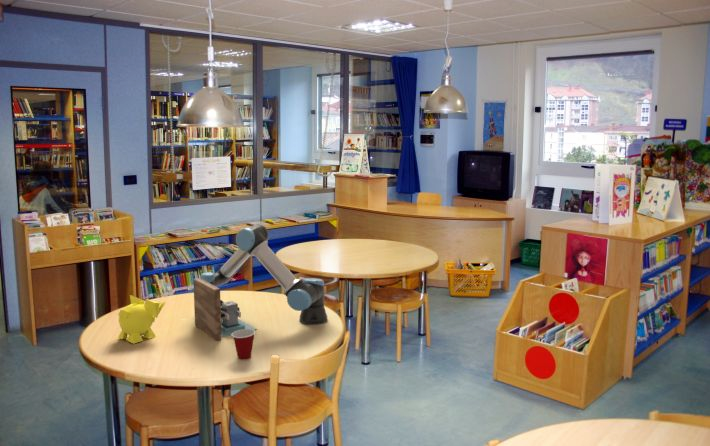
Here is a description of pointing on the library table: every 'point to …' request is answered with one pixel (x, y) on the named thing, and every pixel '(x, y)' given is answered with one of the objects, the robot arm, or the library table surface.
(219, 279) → the robot arm
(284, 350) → the library table surface
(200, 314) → the door panel
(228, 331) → the socket
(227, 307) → the bar
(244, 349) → the plastic cup
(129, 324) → the piggy bank
